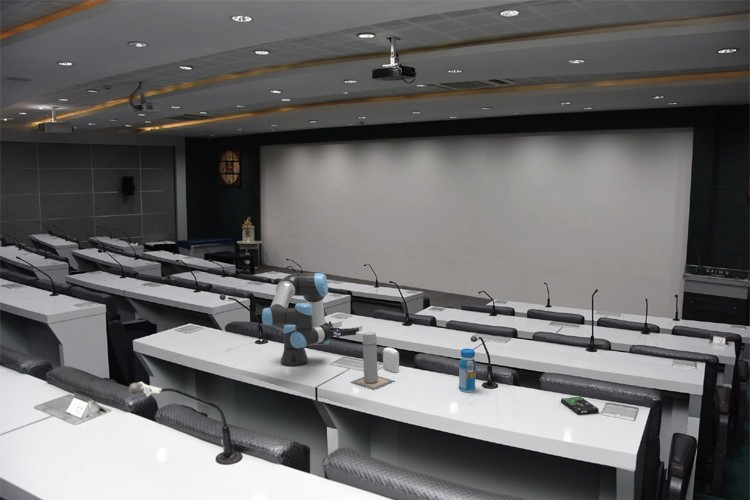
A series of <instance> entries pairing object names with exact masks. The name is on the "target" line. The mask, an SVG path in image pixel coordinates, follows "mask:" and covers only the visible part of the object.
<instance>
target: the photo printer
mask: <svg viewBox="0 0 750 500" xmlns="http://www.w3.org/2000/svg"><path fill="white" fill-rule="evenodd" d="M382 351H383V352H382V369H384V370H385V371H386V370H387V371H389V372H392V373H398V372H399V371H400V352H399V351H398V350H396V349H395V348H392V347H385V348H384V349H383V350H382Z"/></svg>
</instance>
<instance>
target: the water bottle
mask: <svg viewBox="0 0 750 500" xmlns="http://www.w3.org/2000/svg"><path fill="white" fill-rule="evenodd" d="M361 343H362V355H363V358H362V359H363V377H364V381H365V382H367V383H375V382H377V381H378V376H379V375H378V354H377V353H378V351H377V350H378V349H377V343H378V341H377V334H376V332H374V331H367V332H366V331H365V332H363V334H362V342H361Z"/></svg>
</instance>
